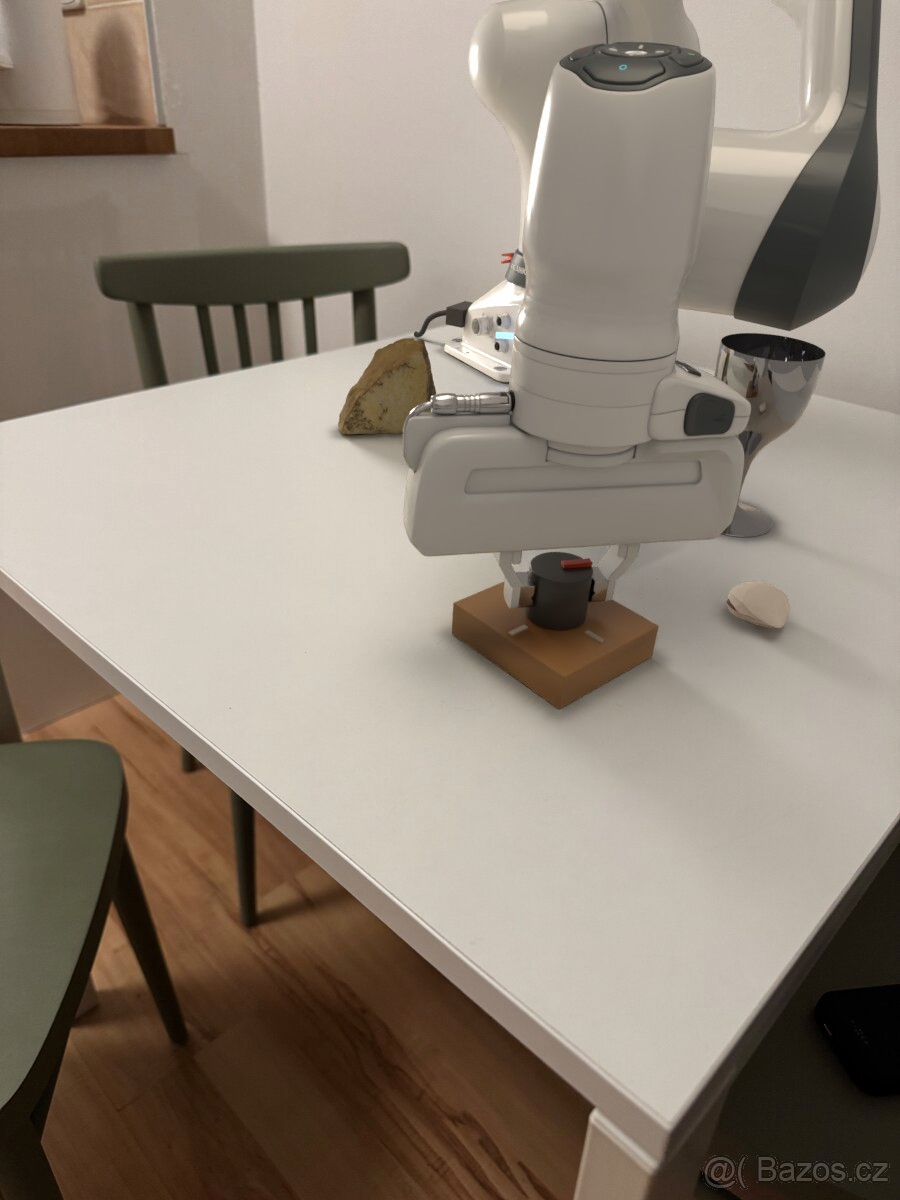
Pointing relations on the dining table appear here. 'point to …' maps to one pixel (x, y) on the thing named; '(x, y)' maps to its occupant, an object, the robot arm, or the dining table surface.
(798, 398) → the wine glass
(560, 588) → the volume knob
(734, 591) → the clam shell
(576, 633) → the volume panel
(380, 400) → the rock
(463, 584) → the dining table surface
